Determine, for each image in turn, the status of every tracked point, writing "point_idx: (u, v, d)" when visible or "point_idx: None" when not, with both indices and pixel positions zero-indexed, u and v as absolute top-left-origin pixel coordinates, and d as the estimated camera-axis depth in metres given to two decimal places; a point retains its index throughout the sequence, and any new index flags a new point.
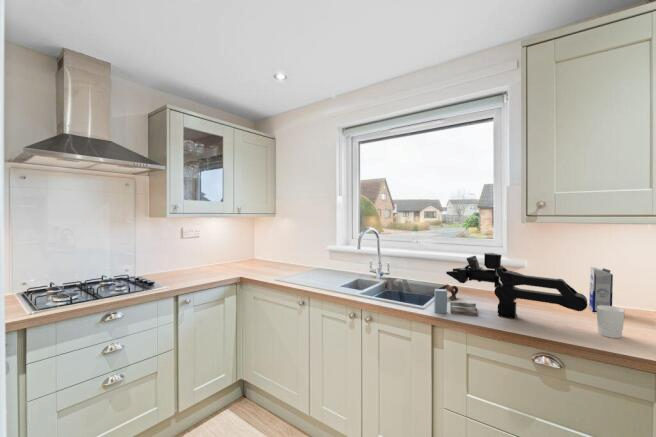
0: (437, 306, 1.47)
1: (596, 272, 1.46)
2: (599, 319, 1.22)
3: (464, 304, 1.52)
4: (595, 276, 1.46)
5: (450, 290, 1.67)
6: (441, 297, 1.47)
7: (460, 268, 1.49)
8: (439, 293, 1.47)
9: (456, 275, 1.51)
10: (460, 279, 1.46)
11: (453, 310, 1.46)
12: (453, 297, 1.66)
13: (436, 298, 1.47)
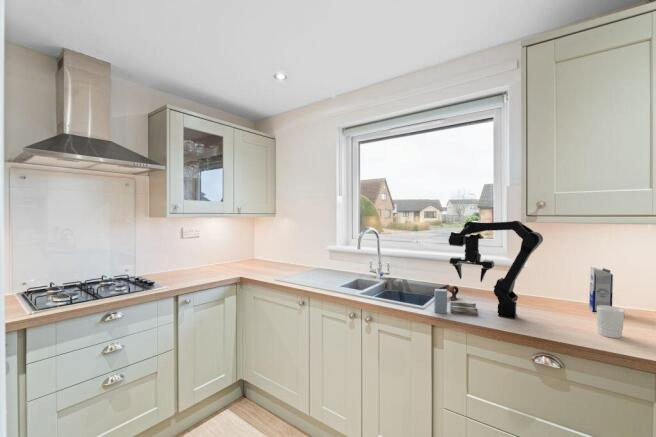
0: (437, 306, 1.47)
1: (596, 272, 1.46)
2: (599, 319, 1.22)
3: (464, 304, 1.52)
4: (595, 276, 1.46)
5: (450, 290, 1.67)
6: (441, 297, 1.47)
7: (459, 263, 1.60)
8: (439, 293, 1.47)
9: None
10: None
11: (453, 310, 1.46)
12: (453, 297, 1.66)
13: (436, 298, 1.47)
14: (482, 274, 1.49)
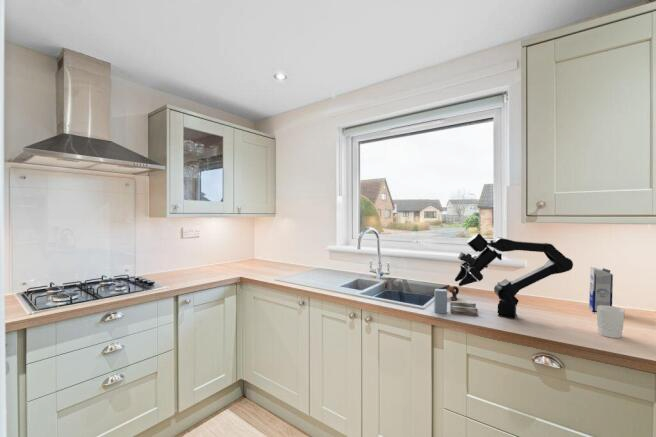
0: (437, 306, 1.47)
1: (596, 272, 1.46)
2: (599, 319, 1.22)
3: (464, 304, 1.52)
4: (595, 276, 1.46)
5: (451, 290, 1.66)
6: (441, 297, 1.47)
7: (466, 270, 1.40)
8: (439, 293, 1.47)
9: (469, 279, 1.40)
10: (478, 277, 1.36)
11: (453, 310, 1.46)
12: (454, 298, 1.65)
13: (436, 298, 1.47)
14: None
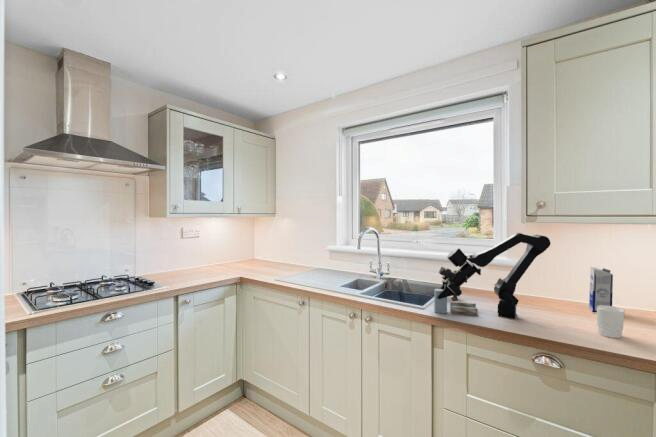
0: (437, 306, 1.47)
1: (596, 272, 1.46)
2: (599, 319, 1.22)
3: (464, 304, 1.52)
4: (595, 276, 1.46)
5: None
6: None
7: (445, 284, 1.44)
8: (439, 293, 1.47)
9: (447, 292, 1.45)
10: (456, 293, 1.38)
11: (453, 310, 1.46)
12: (455, 298, 1.65)
13: (436, 298, 1.47)
14: None
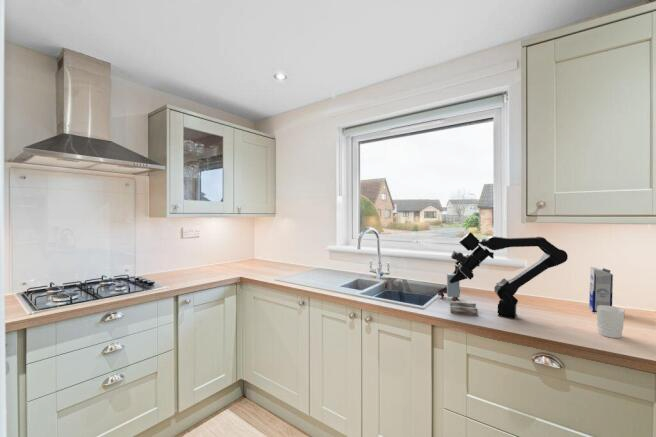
0: (449, 290, 1.47)
1: (596, 272, 1.46)
2: (599, 319, 1.22)
3: (464, 304, 1.52)
4: (595, 276, 1.46)
5: None
6: None
7: (457, 267, 1.45)
8: (451, 277, 1.47)
9: (459, 276, 1.45)
10: (468, 276, 1.38)
11: (453, 310, 1.46)
12: (455, 298, 1.64)
13: (448, 282, 1.47)
14: None
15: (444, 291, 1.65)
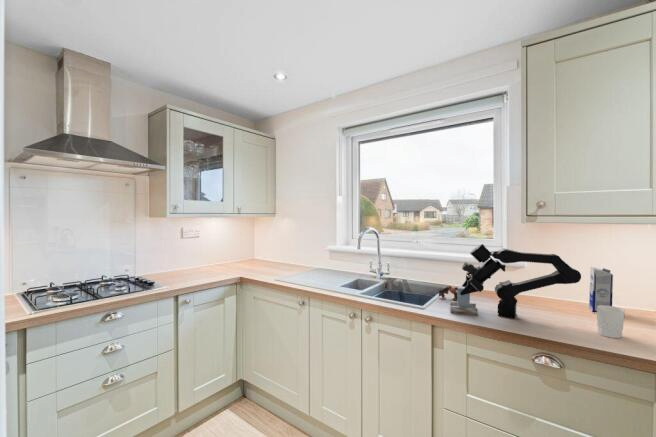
0: (459, 303, 1.48)
1: (596, 272, 1.46)
2: (599, 319, 1.22)
3: None
4: (595, 276, 1.46)
5: (453, 292, 1.64)
6: (464, 295, 1.47)
7: (467, 280, 1.43)
8: None
9: (470, 288, 1.43)
10: (478, 288, 1.38)
11: (453, 310, 1.46)
12: (456, 299, 1.63)
13: (458, 295, 1.48)
14: None
15: (445, 291, 1.65)
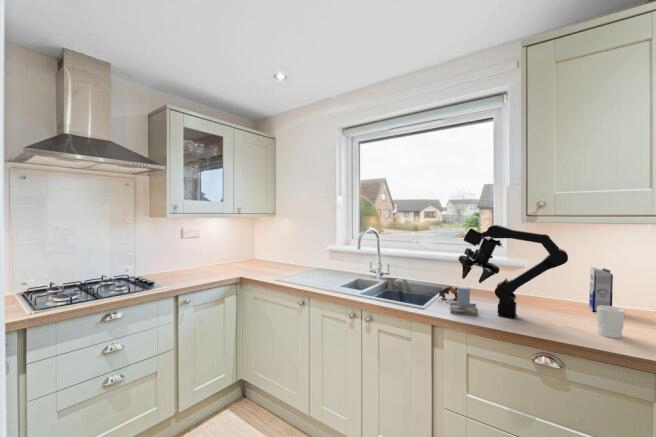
0: (459, 303, 1.48)
1: (596, 272, 1.46)
2: (599, 319, 1.22)
3: None
4: (595, 276, 1.46)
5: (454, 292, 1.63)
6: (464, 295, 1.47)
7: None
8: (462, 290, 1.47)
9: (466, 268, 1.48)
10: (463, 262, 1.46)
11: (453, 310, 1.46)
12: None
13: (458, 295, 1.48)
14: (486, 277, 1.50)
15: (445, 292, 1.64)
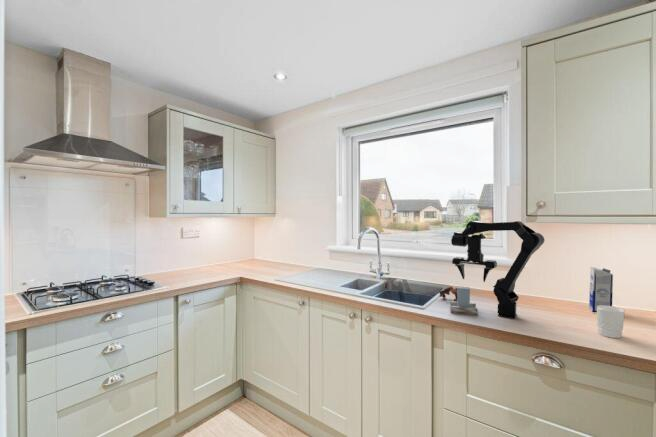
0: (459, 303, 1.48)
1: (596, 272, 1.46)
2: (599, 319, 1.22)
3: None
4: (595, 276, 1.46)
5: (454, 292, 1.63)
6: (464, 295, 1.47)
7: None
8: (462, 290, 1.47)
9: None
10: None
11: (453, 310, 1.46)
12: None
13: (458, 295, 1.48)
14: (485, 274, 1.49)
15: (446, 292, 1.63)
